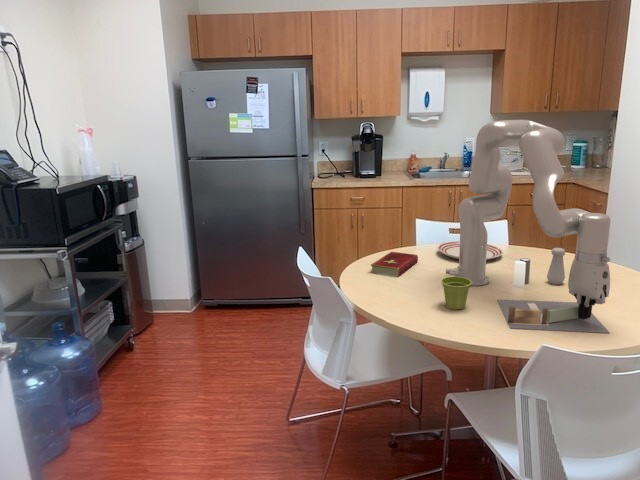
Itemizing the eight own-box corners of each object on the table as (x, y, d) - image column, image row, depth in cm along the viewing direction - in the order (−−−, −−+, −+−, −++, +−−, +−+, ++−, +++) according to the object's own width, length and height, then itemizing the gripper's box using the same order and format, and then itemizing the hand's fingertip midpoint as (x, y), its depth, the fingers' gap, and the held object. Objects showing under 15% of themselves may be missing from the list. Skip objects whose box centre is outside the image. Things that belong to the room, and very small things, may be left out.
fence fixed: (508, 324, 138) (509, 308, 137) (507, 321, 140) (508, 306, 138) (546, 325, 136) (548, 310, 135) (545, 323, 138) (546, 308, 136)
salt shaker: (566, 286, 166) (569, 251, 163) (548, 285, 167) (552, 250, 164) (561, 280, 172) (564, 246, 168) (544, 280, 173) (547, 246, 170)
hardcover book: (417, 263, 198) (418, 254, 197) (398, 278, 181) (399, 268, 180) (391, 260, 205) (391, 250, 204) (370, 274, 187) (370, 264, 186)
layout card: (510, 328, 135) (510, 327, 135) (497, 300, 156) (497, 299, 156) (609, 333, 130) (609, 332, 130) (582, 303, 151) (582, 302, 151)
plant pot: (466, 314, 146) (467, 288, 143) (436, 308, 150) (437, 283, 148) (473, 304, 153) (475, 279, 151) (445, 299, 158) (446, 274, 156)
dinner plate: (498, 248, 217) (498, 241, 216) (507, 266, 191) (507, 258, 190) (437, 246, 223) (437, 239, 222) (437, 263, 197) (437, 256, 196)
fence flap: (549, 322, 136) (550, 310, 135) (546, 321, 138) (547, 308, 137) (588, 316, 140) (590, 303, 139) (585, 314, 141) (587, 302, 140)
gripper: (625, 261, 127) (617, 324, 131) (576, 249, 140) (570, 306, 145) (606, 265, 124) (599, 330, 128) (558, 252, 137) (553, 311, 142)
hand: (584, 317), depth 137 cm, fingers closed
